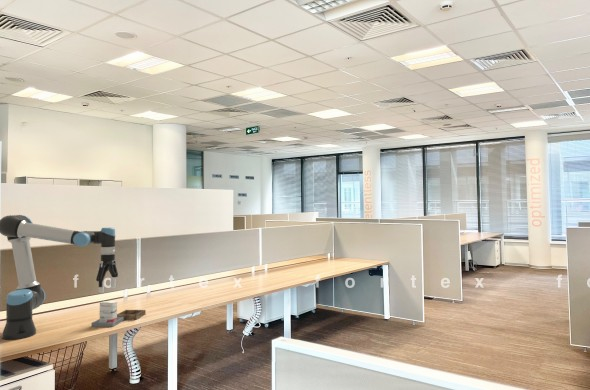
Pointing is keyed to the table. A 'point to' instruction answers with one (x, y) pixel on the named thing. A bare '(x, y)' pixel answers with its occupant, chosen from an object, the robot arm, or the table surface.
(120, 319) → the tray
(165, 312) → the table surface
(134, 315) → the brown wooden box
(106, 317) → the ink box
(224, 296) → the table surface
